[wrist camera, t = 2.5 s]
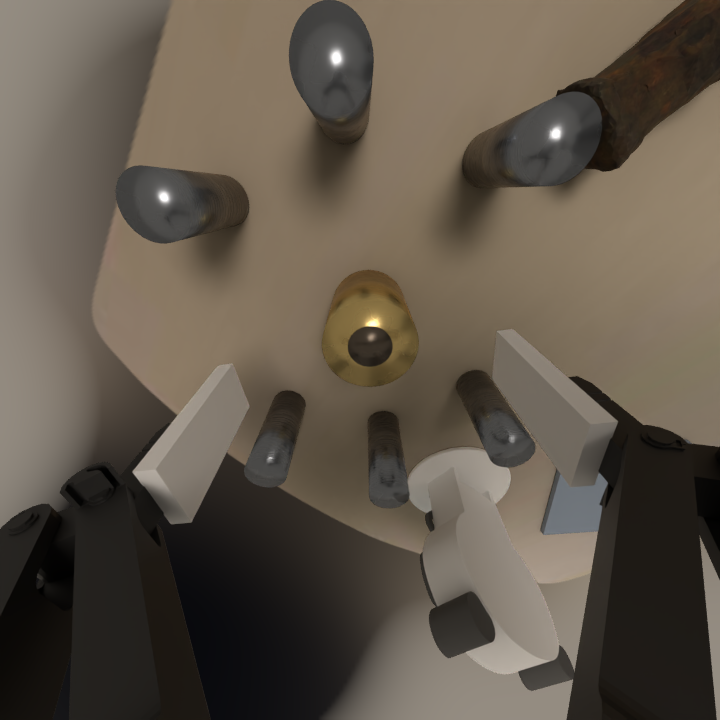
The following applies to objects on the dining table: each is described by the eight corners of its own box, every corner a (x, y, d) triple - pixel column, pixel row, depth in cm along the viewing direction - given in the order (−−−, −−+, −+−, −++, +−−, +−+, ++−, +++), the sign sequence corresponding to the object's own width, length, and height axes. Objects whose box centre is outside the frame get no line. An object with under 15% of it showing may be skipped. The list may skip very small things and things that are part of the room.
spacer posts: (522, 45, 16) (643, -65, 9) (486, 424, 29) (525, 497, 22) (172, 109, 18) (47, 56, 11) (287, 443, 31) (265, 517, 24)
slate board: (686, 439, 30) (692, 443, 29) (641, 523, 37) (645, 527, 36) (562, 450, 31) (565, 454, 30) (540, 530, 38) (543, 534, 37)
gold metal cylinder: (401, 265, 22) (416, 294, 16) (406, 334, 25) (420, 382, 18) (326, 275, 22) (312, 307, 16) (339, 342, 25) (331, 391, 19)
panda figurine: (381, 484, 34) (393, 669, 21) (459, 426, 29) (536, 614, 16) (452, 526, 37) (500, 705, 24) (530, 480, 33) (639, 667, 20)
